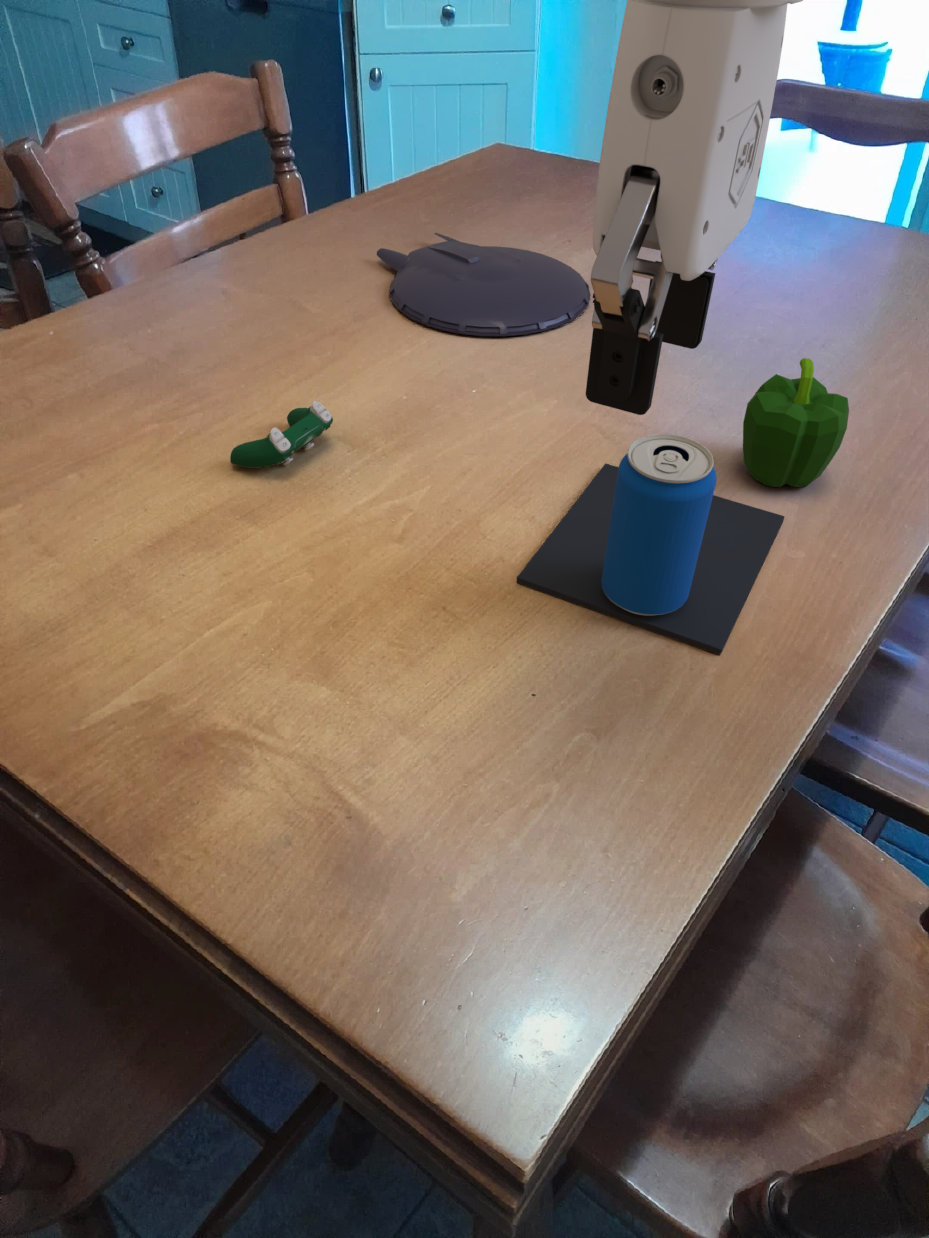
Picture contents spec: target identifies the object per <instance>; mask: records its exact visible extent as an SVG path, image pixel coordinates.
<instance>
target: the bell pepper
mask: <svg viewBox="0 0 929 1238" xmlns="http://www.w3.org/2000/svg"><path fill="white" fill-rule="evenodd" d="M799 366H800V369H801V372H800V377H798V378H788V377H785V376H782V375H780V374H777V373H776V374H774V375H773V376H771V377H770V378H769V379H767V380H766V381H765V382H764V383H762V384H761V385H760V387H759V388H758V389H757V391H756V392H755V393H754V394H753V396H752V397H751V398H750V400H749V401H748V402H747V404H746V409H745V413H744V416H743V417H744V418H743V423H742V426H743V427H742V455H743V463H744V466H745V468H746V471H747V472H748V473H749V474H750V476H751V477H752V479H754V480H755V481H757V482H759V483H761V484H763V485H765V486H767V487H775V488H781V487H782V486H785V485H788V486H790V487H794V488H806V487H808V486H809V485H810V484H812V482H815V480H817V479H818V478H819V477H820V476H822V474H823V473H824V471H826V469H827V467H828V466H829V465H830V463H831V462H832V460H833V459H834V457H835V455H836V454H837V452H838V451H839V449H840V447H841V445H842V443H843V440H844V437H845V434H846V431H847V429H848V422H849V416H850V415H849V414H850V407H849V398H848V397H846V396H844V395H841V394H838V393H829V392H828V390H827V387H826V386H825V385H824V384H822V383H821V382H820V381H819V380H818V379H816V377H814V372H815V366H814V361H813V360H812V359H811V358H806V357H803V358H801V359H800V361H799Z"/></svg>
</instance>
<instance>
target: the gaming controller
mask: <svg viewBox="0 0 929 1238" xmlns="http://www.w3.org/2000/svg"><path fill="white" fill-rule="evenodd" d="M286 422H287V424H288V426H289V427H288V428H286V429H285V430H283V431H281V430H280V429H279V428H278V427H272V428H271V430H270V431H269V433H268V434H267V436H266V437H264V438H261V439H256V440H252V441H251V440H250V441H246V442H244V443H240V444H238V445H236V446H235V447H234V448H233V449H232V450H231V452H230V459H229V461H230V463H231V464H232V465H235V466H238V467H242V468H246V469H247V468H248V469H257V468H258V469H260V468H267V467H272V466H278V465H279V464H282V463H283V464H282V465H283V466H287V465H288V464H290V463H291V462H293V460H294V458H293V457H292V456H293V454H294V453H295V452H296V451H298V450H299V449H301V450H302V449H303V451H306V452H307V451H309V450H310V449H311V448H313V447H314V446H315V442H314V439H315V438H317V437H319V436H321V435H322V434H323V433H324V432H325V431H327V430H329V429H330V428H331V425H332V424H333V422H334V418H333V416H332V414H331V412H330V411H329V410H328V409H326V407H325V406H324V405H323V404H322V403H321V402H319V401H318V400H313V401H312V402H311V406H309V407H297V408H293V409H291V410H290V411H289V412H288V414H287V416H286ZM290 457H291V458H290Z"/></svg>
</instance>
